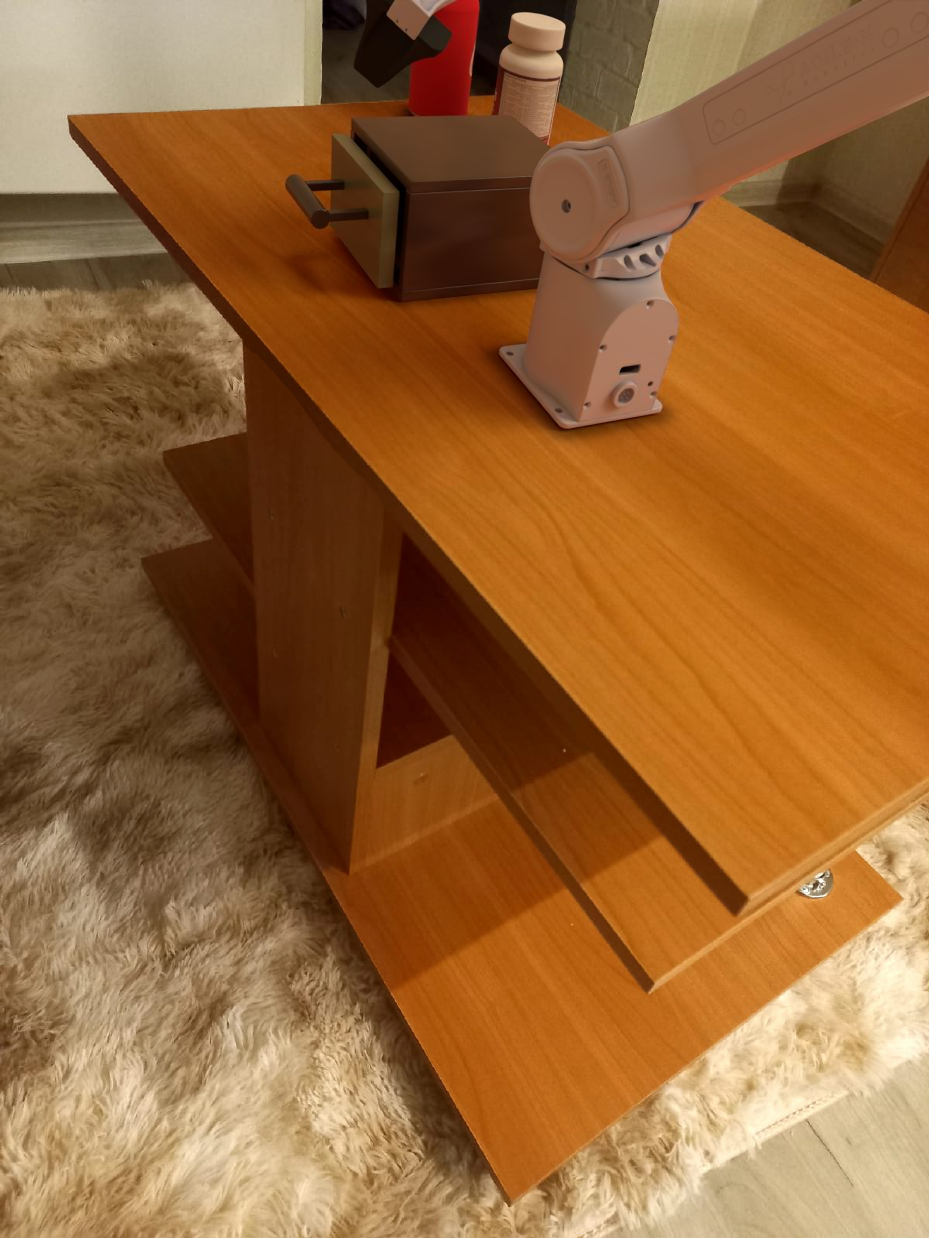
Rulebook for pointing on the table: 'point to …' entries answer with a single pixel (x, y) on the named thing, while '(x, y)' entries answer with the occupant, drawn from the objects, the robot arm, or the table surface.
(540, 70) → the pill bottle
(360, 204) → the drawer
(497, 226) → the cabinet
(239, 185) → the table surface
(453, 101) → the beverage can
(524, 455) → the table surface
